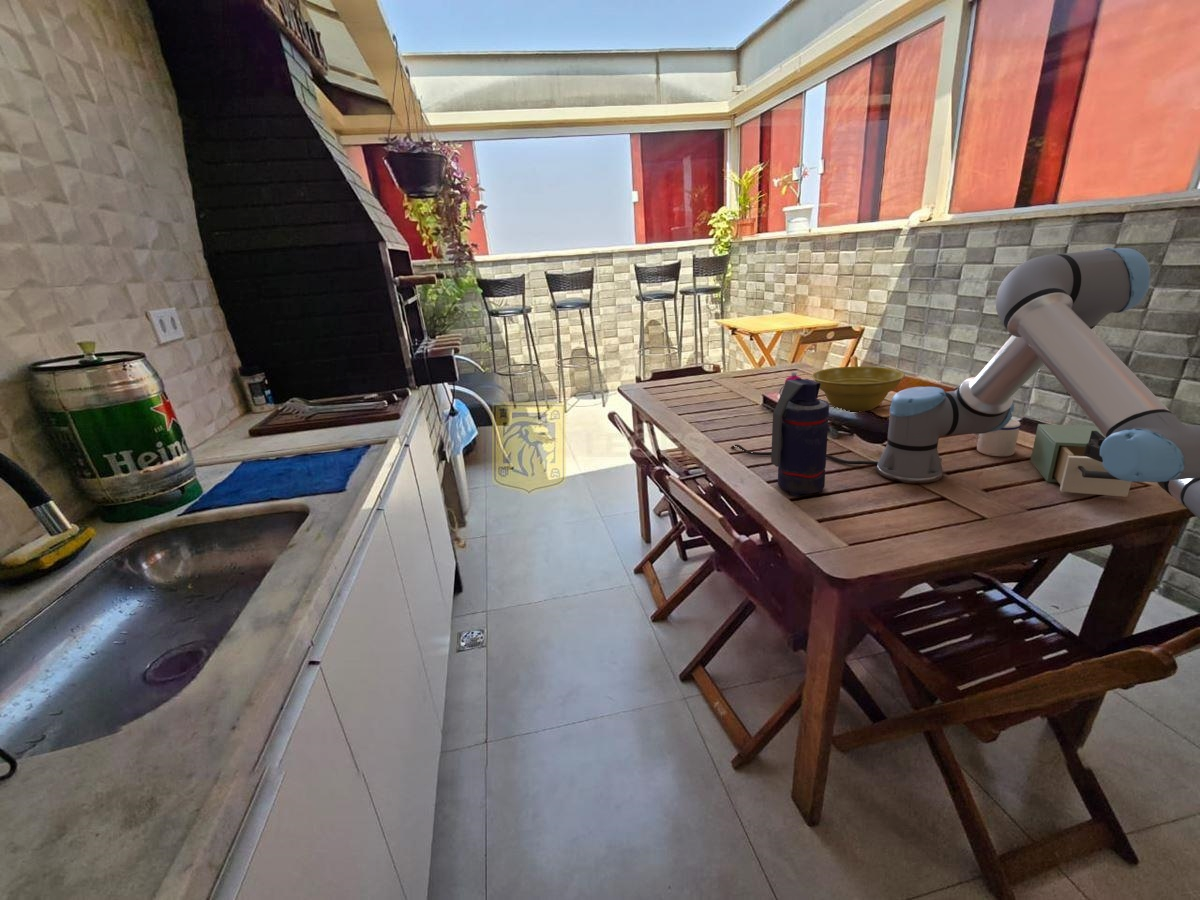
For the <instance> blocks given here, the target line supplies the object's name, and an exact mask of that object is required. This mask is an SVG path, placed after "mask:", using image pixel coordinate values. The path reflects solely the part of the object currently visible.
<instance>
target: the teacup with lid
mask: <svg viewBox="0 0 1200 900" xmlns="http://www.w3.org/2000/svg"><path fill="white" fill-rule="evenodd" d="M1021 427H1022V424H1021V422H1020V421H1019V420H1017V419H1014V418H1011V419H1010V421H1009V422H1008V424H1007V425H1006V426H1004V427H1003V428H1001V429H999V430H997V431H993V432H987V433H983V434H976V433H975V434H972V435H973V436H974V438H976V440H977V443H976V444H977V445H976V450H977V451H978V452H979V453H981V454H984V455H986V456H991V457H1010V456H1012V455H1014V454H1015V452H1016V447H1017V443H1018V437H1019V433H1020V429H1021Z"/></svg>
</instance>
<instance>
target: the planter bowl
mask: <svg viewBox="0 0 1200 900" xmlns="http://www.w3.org/2000/svg"><path fill="white" fill-rule="evenodd" d="M905 377H906V373H904V372H903V371H901V370H897V369H894V368H888V367H881V366H880V367H879V366H865V365H864V366H862V365H861V366H855V365H854V366H841V367H831V368H824V369H821V370H818V371H815V372H813V373H812V374H811V378H812V379H813V380H814V381H815V382H818V383H821V385H820V389H819V390H821V391H822V392H824V395H825V398H826V399H827V400H828V401H827V402H828V403H829V405H831V406H832V407H834V406H835V407H838V408H842V409H845V410H850V411H849V412H866V411H872V410H874V409H875V408H877V407H879V406H880V405H881V403H882V402H883V401H884V400H885V399H886V397H887V395H888V394H889V393H891V391H894V390H895V389H896V388H897V387H898V386H899V384H900V382H901V381H902V379H904V378H905ZM835 407H834V408H835Z"/></svg>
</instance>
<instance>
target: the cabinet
mask: <svg viewBox="0 0 1200 900" xmlns="http://www.w3.org/2000/svg"><path fill="white" fill-rule="evenodd" d="M1092 431H1097V432H1099V433H1100V434H1101V435H1102V436H1104V435H1103V433H1102V432H1101V431H1100V430H1099V429H1098V427H1097V426H1096V425H1084V424H1083V425H1082V424H1055V423H1053V424H1052V423H1051V424H1049V423H1037V428H1036V433H1035V438H1034V441H1033V446H1032V450H1031V456H1030V459H1029V461H1030V462H1031V464H1032V465H1033V466H1034V467H1035V468H1036V469H1037V471H1038V472H1039V474H1040V475H1041V476H1042V477H1043V479H1044V481H1046V482H1047V483H1058V484H1059V482H1058V481H1057V480H1056V479H1055V478H1054V476H1053V472H1054V467H1055V463H1056V459H1057V454H1058V450H1059V446H1081V447H1086V444H1087V443H1089V439H1090V435H1091V432H1092ZM1104 437H1105V436H1104ZM1105 438H1106V437H1105Z"/></svg>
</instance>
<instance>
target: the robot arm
mask: <svg viewBox="0 0 1200 900" xmlns="http://www.w3.org/2000/svg"><path fill="white" fill-rule="evenodd" d="M1151 273H1152V272H1151V266H1150V265H1149V262H1148V260H1147V259H1146V257H1145V256H1144V255H1143V254H1142V253H1141V252H1139V251H1138V250H1137V249H1134V248H1130V247H1116V248H1113V247H1104V248H1102V249H1094V250H1087V251H1086V250H1085V251H1076V252H1075V251H1074V252H1065V253H1057V254H1046V255H1040V256H1036V257H1033V258H1030V259H1028V260H1026V261H1024V262H1023V263H1021V264H1019V265H1018V266H1016V267H1015V268H1013V270H1012V269H1011V271H1010V272H1008V274H1007V275H1006V276H1005V277H1004V278H1003V280H1002V281H1001V283H1000V285H999V287H998V289H997V292H996V296H995V311H996V313H997V317H998V319H999V321H1000V323H1001V325H1002V326H1003V327H1004V329H1006V331H1007V332H1008V333H1009V334H1010V335H1011V336H1010V337H1009V338H1008V339H1006V341H1005V343H1004V344H1003V345H1002V346H1001V347H1000V348H999V350H998V351H997V352H996V353H995V354H994V355H993V356H992V358H991V359H990V360H989V361H988V362H987V364H985V366H984V367H983V368H982V369H981V371H980V372H979V373H978V374H977V375H976V376H975V375H974V376H970V377H968V378H966V379H965V380H964V381H962V382H961V383H960V385H959V386H958V387H957V388H956V389H955V390H949V391H945V390H944V388H941V387H937V386H915V387H907V388H904V389H901V390H900V391H897V392H896V393H895V394H894V395H893V396H892V398H891V403H890V407H889V417H888V418H889V419H888V429H887V439H886V446H885V447H884V450H883V451H882V452H881V453H882V454H881V456H879V459H878V461H874V460H847V459H842V458H838V457H836V456H834V455H830V454H828V453H826V459H830V460H833V461H835V462H838V463H841V464H846V465H869V466H871V465H872V466H876V472H877V473H878V474H879V475H880V476H881V477H884V478H885V479H887V480H891V481H894V482H897V483H898V482H899V483H904V484H914V485H915V484H916V485H917V484H920V485H921V484H922V485H923V484H931V483H935V482H937V481H939V480H940V479H942V476H943V466H942V461H943V458H942V457H940V454H939V450H938V447H939V439H940V437H946V436H947V437H948V436H959V435H961V436H962V435H973V434H975V433H976V434H978V435H979V434H983V433H987V432H993V431H997V430H999V429H1001V428H1003V427H1004V426H1006V425H1007V424H1008V422H1009V421H1010V419H1013V418H1012V417H1013V414H1012V413H1013V412H1014V411H1015V404H1014V397H1013V396H1014V394H1015V393H1017V391H1019V390H1020V389H1021V388H1022V387H1023V386H1024V385H1025V384H1026V383H1027V381H1029V380H1030V379H1031V378H1032V377H1033V376H1034V375H1035V374H1036V373H1037V372H1038V371H1039V370H1040V369H1041V368H1042V367H1043V366H1046V368H1047V369H1048V370H1049V371H1050V373H1051V374H1052V375H1053V376H1054V377H1055V379H1056V380H1057V381H1058V382H1059V383H1060V385H1061V386H1062V387H1063V388H1064V389H1065V391H1066V392H1067V393H1068V394H1069V395H1070V396H1071V398H1072V399H1073V400H1074V402H1075V403H1076V404H1077V405H1078V407H1079V408H1080V409H1081V410H1082V411H1083V412H1084V413H1085V414H1086V415H1087V417H1088V418H1089V419H1090V421H1092V423H1093V425H1094V426H1097V427H1098V429H1099V430H1100V431H1101V432H1102V433H1103V435H1104V436H1105V437H1106V438H1105V437H1104V436H1102V435H1101V434H1100V433H1099V432H1097V431H1092V432H1091V435H1090V439H1089V443H1087V444H1086V448H1085V452H1084V456H1087V457H1089V458H1092V459H1094V460H1097V461H1100V462H1102V465H1103V467H1104V468H1105V469H1106V470H1107V472H1109V473H1110V474H1111V475H1112V476H1114V477H1116V478H1118V479H1121V480H1124V481H1131V483H1133V482H1136V483H1139V482H1140V483H1149V482H1150V483H1151V482H1152V483H1157V484H1158V486H1159V487H1160V488H1161V489H1162V490H1164V491H1165V492H1166V493H1167V494H1168V495H1170V497H1173V498H1174V499H1175V500H1176V501H1177V502H1179V503H1180V504H1181V505H1183V506H1184V507H1185V508H1186V509H1187V510H1188V511H1189V512H1191V513H1192V514H1193V515H1194V516H1195V517H1197V519H1199V520H1200V424H1192V425H1191V424H1189V425H1185V424H1183V422H1182V421H1181V420H1180V419H1179V418H1178V417H1177V416H1176V415H1175V414H1174V413H1173V412H1171V410H1170V409H1169V408H1168V407H1167V406H1165V405H1166V404H1164V403H1163V402H1162V401H1161V400H1160V399H1159V398H1158V397H1157V396H1156V395H1155V394H1154V393H1153V392H1152V391H1151V390H1150V389H1149V387H1147V386H1146V384H1145V383H1144V382H1142V380H1141V379H1140V378H1139V377H1138V376H1136V374H1135V373H1134V372H1133V371H1132V370H1131V368H1129V367H1128V365H1126V364H1125V363H1124V362H1123V361H1122V360H1121V358H1120V357H1118V355H1117V354H1116V353H1115V352H1114V351H1113V350H1112V349H1111V348H1110V347H1109V346H1108V345H1107V344H1106V343H1105V342H1104V341H1103V340H1102V339H1101V338H1100V337H1099V336H1098V335H1097V334H1096V333H1095V332H1094V331H1093V329H1094V328H1095V327H1096V326H1097V325H1098V324H1099V323H1100V322H1101V321H1102V320H1103V319H1104V318H1106V316H1108V315H1109V314H1111V313H1114V314H1119V313H1123V312H1126V311H1129V310H1131V309H1133V308H1135V307H1136V306H1137V305H1139V304H1140V303H1141V302H1142V301H1143V299H1144V298H1145V297H1146V295H1147V293H1148V291H1149V289H1150V286H1151ZM734 445H735V446H737V447H734V446H733V445H732V446H730V449H731V450H733V449H736V448H738V447H739V448H738V449H740V450H741V449H742V450H741V451H742V452H744V453H746V454H748V455H753V456H771V451H753V450H752V451H751V450H748V449H746V448H744V446H742V445H740V444H738V443H737V444H736V443H735V444H734ZM743 450H744V451H743ZM746 451H748V452H746ZM751 452H753V453H751Z"/></svg>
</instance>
